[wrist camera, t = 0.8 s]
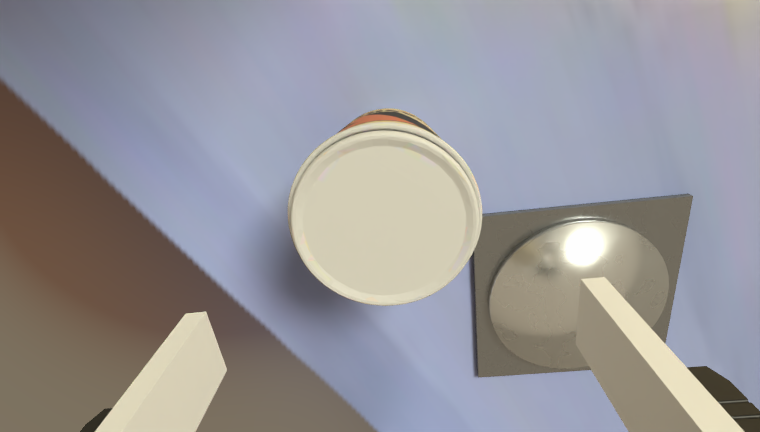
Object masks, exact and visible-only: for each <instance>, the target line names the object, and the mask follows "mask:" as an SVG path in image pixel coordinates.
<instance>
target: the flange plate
mask: <svg viewBox="0 0 760 432" xmlns="http://www.w3.org/2000/svg"><path fill="white" fill-rule="evenodd" d="M692 199H693V196H692V195H690V194H681V195H671V196H661V197H651V198H640V199H630V200H620V201H610V202H600V203H590V204H579V205H569V206H559V207H549V208H539V209H529V210H519V211H508V212H498V213H488V214H482V226H481V231H480V236H479V239H478V242H477V245H476V247H475V249H474V251H473V262H474V289H475V316H476V343H477V370H478V377H491V376H506V375H520V374H535V373H550V372H565V371H580V370H591V369H590V367H589V365H588V364H587V362H586V360H585V359H584V357H583V355H582V354H581V352H580V350H579V349H578V347H577V345H576V332H577V320H578V308H579V296H580V284H581V279H586V278H598V277H605V278H606V279H607V280H608V281H609V282H610V283H611V285H612V286H613V287H614V288H615V289H616V290H617V291H618V292H619V293H620V295H621V296H622V297H623V298H624V299H625V300H626V301H627V302H628V303H629V304H630V306H631V307H632V308H633V309H634V310H635V311H636V312H637V313H638V314H639V316H640V317H641V318H642V319H643V320H644V321H645V322H646V323H647V324H648V325H649V327H650V328H651V329H652V330H653V331H654V332H655V333H656V334H657V335H658V337H659V338H660V339H661V340H662V341H663V342H664V343H665V342H666V337H667V331H668V326H669V321H670V315H671V310H672V305H673V300H674V294H675V289H676V284H677V278H678V273H679V268H680V263H681V257H682V252H683V247H684V241H685V236H686V231H687V225H688V220H689V215H690V210H691V204H692Z"/></svg>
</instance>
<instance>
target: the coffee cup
mask: <svg viewBox="0 0 760 432" xmlns="http://www.w3.org/2000/svg"><path fill="white" fill-rule="evenodd" d="M288 223H289V229H290V233H291V237H292V240H293V243H294V245H295V247H296V250H297V252H298V254H299V255H300V257H301V259H302V261H303V262H304V264H305V265H306V267H307V268H308V269H309V271H310V272H311V273H312V274H313V275H314V276H315V277H316V278H317V279H318V280H319V281H320V282H321V283H322V284H324V285H325V286H326V287H328V288H329V289H331V290H332V291H334V292H336V293H337V294H339V295H341V296H343V297H346V298H348V299H351V300H354V301H357V302H361V303H365V304H371V305H382V306H388V305H400V304H406V303H410V302H414V301H417V300H420V299H423V298H425V297H428V296H430V295H432V294H434V293H435V292H437V291H439V290H440V289H442V288H443V287H445V286H446V285H447V284H448V283H449V282H451V281H452V280H453V279H454V278H455V277H456V276H457V275H458V274H459V273H460V271H461V270H462V268H463V267H464V266H465V264H466V263H467V262H468V260H469V258H470V257H471V255H472V253H473V251H474V249H475V247H476V245H477V242H478V239H479V236H480V231H481V226H482V203H481V197H480V193H479V189H478V186H477V183H476V181H475V178H474V176H473V174H472V172H471V170H470V169H469V167H468V165H467V164H466V163H465V161H464V160H463V159H462V157H461V156H460V155H459V154H458V153H457V152H456V151H455V150H454V149H453V148H452V147H451V146H449V145H448V144H447V143H446V142H444V141H443V140H442V139H441V138H440V137H439V136H438V135H437V134H436V133H435V132H434V131H433V130H432V129H431V128H430V127H429V126H428V125H427V124H426V123H425V122H423V121H422V120H421V119H419V118H418V117H416V116H415V115H413V114H411V113H408V112H406V111H402V110H398V109H378V110H374V111H370V112H368V113H365V114H363V115H361V116H360V117H358V118H356V119H355V120H353V121H352V122H351V123H349V124H348V125H347V126H346V127H344V128H343V129H342V130H341V131H339V132H338V133H337V134H336V135H334V136H332V137H330V138H329V139H327V140H326V141H325V142H323V143H322V144H321V145H319V146H318V147H317V148H316V149H315V150H314V151H313V152H312V153H311V154H310V155H309V156H308V158H307V159H306V160H305V161H304V163H303V164H302V166H301V167H300V169H299V171H298V173H297V175H296V177H295V179H294V182H293V185H292V187H291V191H290V196H289V202H288Z"/></svg>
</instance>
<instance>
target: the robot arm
mask: <svg viewBox="0 0 760 432" xmlns="http://www.w3.org/2000/svg"><path fill="white" fill-rule="evenodd" d="M576 345H577V347H578V349H579V350H580V352H581V354H582V355H583V357H584V359H585V360H586V362H587V364H588V365H589V367H590V369H591V370H592V372H593V373H594V375H595V377H596V378H597V380H598V382H599V383H600V385H601V387H602V388H603V390H604V392H605V393H606V395H607V397H608V398H609V400H610V402H611V403H612V405H613V407H614V408H615V410H616V411H617V413H618V415H619V416H620V418H621V420H622V421H623V423H624V425H625V426H626V428H627V430H628V431H629V432H760V411H759V410H758V409H757V408H756V407H755V406H754V405H753V404H752V403H749V402H748V399H747V398H746V397H745V396H744V395H743V394H742V393H741V392H740V391H739V390H738V389H737V388H736V387H735V386H734V385H733V384H732V383H731V382H730V381H729V380H727V379H726V378H724V377H723V376H721V375H719V374H718V373H716V372H715V371H713V370H711V369H710V368H708V367H707V366H702V367H687V368H686V366H685V365H684V364H683V363H682V362H681V361H680V360H679V359H678V358H677V356H676V355H675V354H674V353H673V352H672V351H671V350H670V349H669V348H668V346H667V345H666V344H665V343H664V342H663V341H662V340H661V339H660V338H659V337H658V335H657V334H656V333H655V332H654V331H653V330H652V329H651V328H650V327H649V325H648V324H647V323H646V322H645V321H644V320H643V319H642V318H641V317H640V316H639V314H638V313H637V312H636V311H635V310H634V309H633V308H632V307H631V306H630V304H629V303H628V302H627V301H626V300H625V299H624V298H623V297H622V296H621V295H620V293H619V292H618V291H617V290H616V289H615V288H614V287H613V286H612V285H611V283H610V282H609V281H608V280H607V279H606V278H605V277H598V278H586V279H581V284H580V296H579V308H578V320H577V332H576ZM226 371H227V368H226V366H225V363H224V361H223V357H222V355H221V352H220V349H219V346H218V344H217V341H216V338H215V335H214V332H213V330H212V327H211V324H210V322H209V319H208V316H207V313H206V312H198V313H187V314H185V315H184V317H183V318H182V319H181V321H180V322H179V323H178V324H177V326H176V327H175V328H174V330H173V331H172V332H171V334H170V335H169V336H168V337H167V339H166V340H165V341H164V343H163V344H162V345H161V346H160V348H159V349H158V350H157V352H156V353H155V354H154V356H153V357H152V358H151V360H150V361H149V362H148V363H147V365H146V366H145V367H144V368H143V370H142V371H141V372H140V374H139V375H138V376H137V378H136V379H135V380H134V381H133V383H132V384H131V385H130V387H129V388H128V389H127V391H126V392H125V393H124V394H123V396H122V397H121V398H120V400H119V401H118V402H117V403H116V405H115V406H114V407H113V408H111V409H104V410H103V411H102V412H100V413H99V414H98V415H97V416H96V417H94V418H93V419H92V420H91V421H90V422H88V423H87V424H86V425H85V426H84V427H83V429H82V430H81V431H80V432H196V430H197V428H198V426H199V424H200V422H201V420H202V418H203V416H204V414H205V412H206V410H207V408H208V406H209V404H210V402H211V400H212V398H213V396H214V395H215V392H216V391H217V389H218V387H219V385H220V383H221V381H222V379H223V377H224V375H225V373H226Z"/></svg>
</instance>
